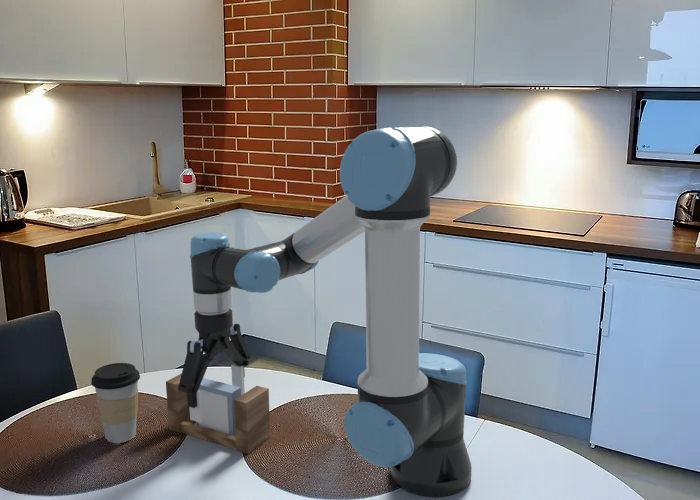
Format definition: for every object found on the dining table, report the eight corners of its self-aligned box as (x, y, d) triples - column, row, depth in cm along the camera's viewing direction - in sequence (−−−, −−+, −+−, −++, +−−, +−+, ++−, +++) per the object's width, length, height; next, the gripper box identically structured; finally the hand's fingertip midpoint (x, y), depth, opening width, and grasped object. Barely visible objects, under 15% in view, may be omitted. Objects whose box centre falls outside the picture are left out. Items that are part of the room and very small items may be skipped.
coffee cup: (129, 451, 130) (123, 381, 126) (87, 446, 132) (80, 377, 128) (152, 428, 139) (147, 363, 135) (112, 424, 141) (107, 359, 137)
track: (270, 437, 135) (268, 388, 133) (248, 454, 129) (246, 403, 126) (192, 414, 145) (190, 368, 142) (168, 429, 138) (165, 381, 136)
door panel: (242, 435, 136) (240, 387, 134) (232, 442, 133) (230, 393, 131) (205, 424, 141) (203, 377, 138) (195, 431, 138) (192, 383, 135)
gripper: (236, 291, 143) (240, 381, 148) (154, 325, 122) (162, 428, 126) (264, 296, 140) (267, 387, 144) (184, 331, 118) (191, 437, 123)
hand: (218, 406), depth 135 cm, fingers open, 13 cm apart
